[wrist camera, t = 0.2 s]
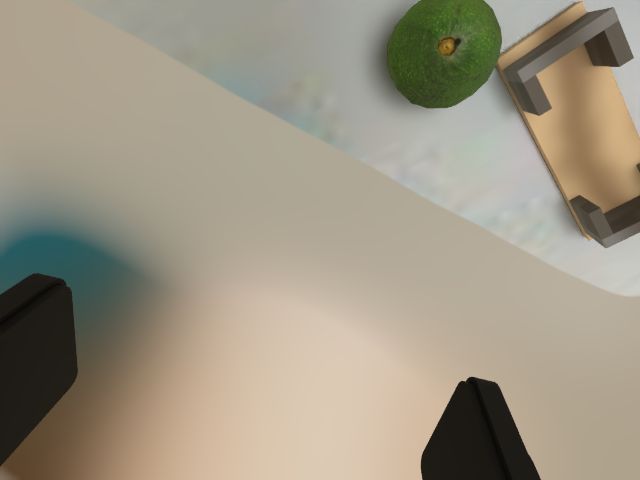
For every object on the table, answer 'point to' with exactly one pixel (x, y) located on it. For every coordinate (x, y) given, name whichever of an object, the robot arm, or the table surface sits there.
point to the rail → (581, 117)
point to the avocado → (444, 51)
